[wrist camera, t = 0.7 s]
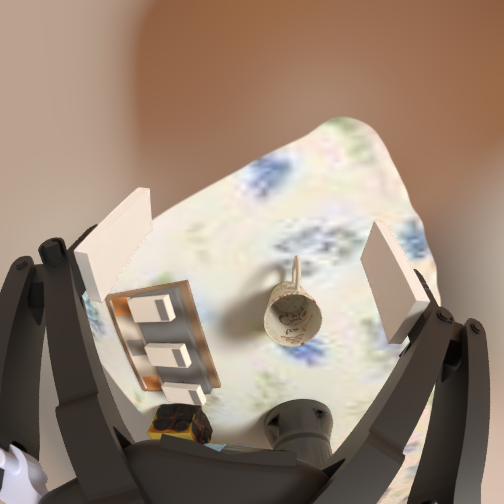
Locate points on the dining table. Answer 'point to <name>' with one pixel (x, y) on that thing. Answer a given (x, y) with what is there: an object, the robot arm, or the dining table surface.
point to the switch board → (165, 338)
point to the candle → (181, 423)
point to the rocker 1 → (151, 309)
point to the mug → (292, 312)
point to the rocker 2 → (184, 393)
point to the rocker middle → (168, 355)
